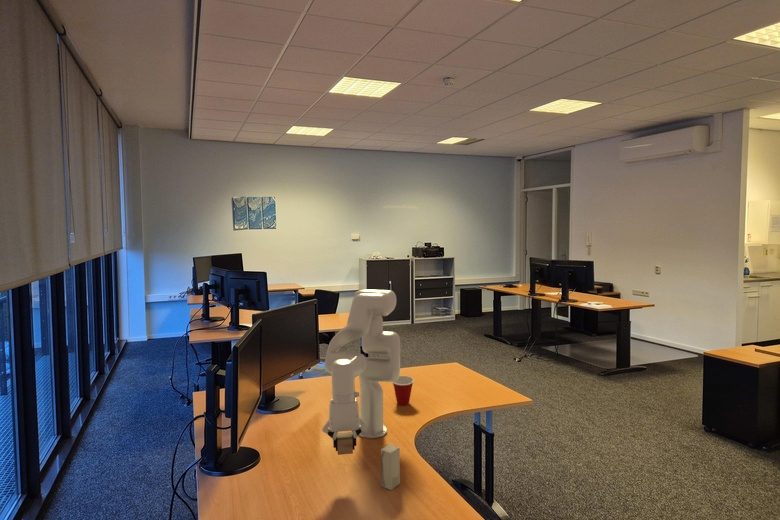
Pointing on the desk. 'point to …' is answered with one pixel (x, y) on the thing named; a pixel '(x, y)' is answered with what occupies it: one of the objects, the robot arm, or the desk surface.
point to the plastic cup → (403, 389)
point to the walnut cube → (345, 443)
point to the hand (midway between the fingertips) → (345, 448)
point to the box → (390, 466)
